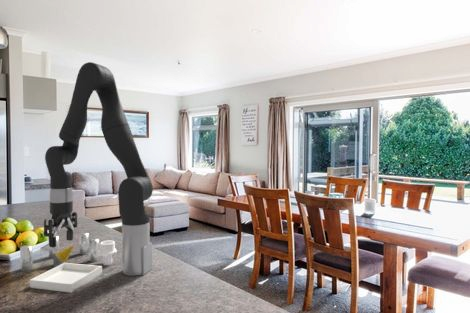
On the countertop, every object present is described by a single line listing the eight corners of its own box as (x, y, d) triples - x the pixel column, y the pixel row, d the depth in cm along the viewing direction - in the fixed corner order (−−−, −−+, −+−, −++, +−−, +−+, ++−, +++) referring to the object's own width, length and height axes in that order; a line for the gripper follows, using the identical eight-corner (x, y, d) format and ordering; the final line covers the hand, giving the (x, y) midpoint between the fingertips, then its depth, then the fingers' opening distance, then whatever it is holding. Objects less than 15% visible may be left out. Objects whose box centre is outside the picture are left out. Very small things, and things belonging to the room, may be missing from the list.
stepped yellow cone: (54, 263, 125) (75, 243, 127) (60, 272, 122) (81, 251, 124) (44, 259, 120) (66, 238, 123) (50, 268, 117) (72, 246, 120)
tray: (102, 273, 114) (102, 266, 114) (71, 292, 100) (71, 284, 99) (64, 269, 117) (64, 262, 117) (29, 287, 103) (29, 279, 103)
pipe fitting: (94, 264, 122) (93, 243, 122) (111, 259, 128) (111, 238, 128) (103, 268, 118) (103, 246, 118) (121, 262, 124) (120, 241, 124)
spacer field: (110, 253, 134) (110, 234, 134) (71, 275, 112) (71, 252, 111) (64, 249, 139) (64, 231, 138) (18, 270, 116) (17, 248, 116)
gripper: (55, 204, 114) (55, 250, 115) (83, 197, 128) (83, 238, 129) (37, 202, 116) (37, 248, 116) (66, 196, 129) (66, 237, 130)
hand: (61, 243), depth 122 cm, fingers open, 8 cm apart
